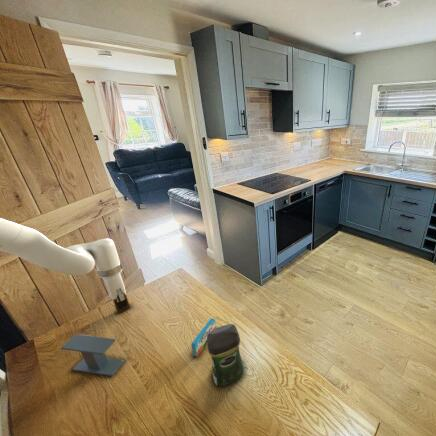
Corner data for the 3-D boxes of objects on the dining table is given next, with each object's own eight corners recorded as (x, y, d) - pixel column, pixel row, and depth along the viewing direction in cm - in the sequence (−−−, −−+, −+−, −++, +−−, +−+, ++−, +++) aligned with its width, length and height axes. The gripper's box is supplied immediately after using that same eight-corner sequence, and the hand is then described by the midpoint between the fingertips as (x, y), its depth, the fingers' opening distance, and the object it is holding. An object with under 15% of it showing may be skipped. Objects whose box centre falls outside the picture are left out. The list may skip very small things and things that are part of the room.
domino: (118, 314, 99) (112, 299, 95) (116, 311, 100) (111, 296, 97) (130, 308, 102) (125, 293, 98) (129, 306, 103) (124, 291, 100)
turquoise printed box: (213, 329, 93) (211, 317, 90) (216, 330, 93) (214, 318, 90) (193, 356, 82) (190, 344, 80) (197, 357, 82) (194, 345, 79)
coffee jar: (239, 356, 82) (235, 317, 75) (246, 377, 76) (242, 336, 69) (210, 369, 78) (203, 328, 71) (215, 392, 72) (208, 350, 64)
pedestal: (73, 371, 77) (60, 347, 72) (87, 356, 81) (76, 334, 77) (112, 377, 75) (102, 353, 71) (124, 362, 80) (115, 339, 76)
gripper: (93, 265, 95) (106, 301, 102) (103, 283, 85) (117, 321, 92) (115, 257, 100) (126, 292, 107) (127, 273, 90) (138, 310, 98)
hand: (122, 305), depth 100 cm, fingers closed on domino, 2 cm apart
